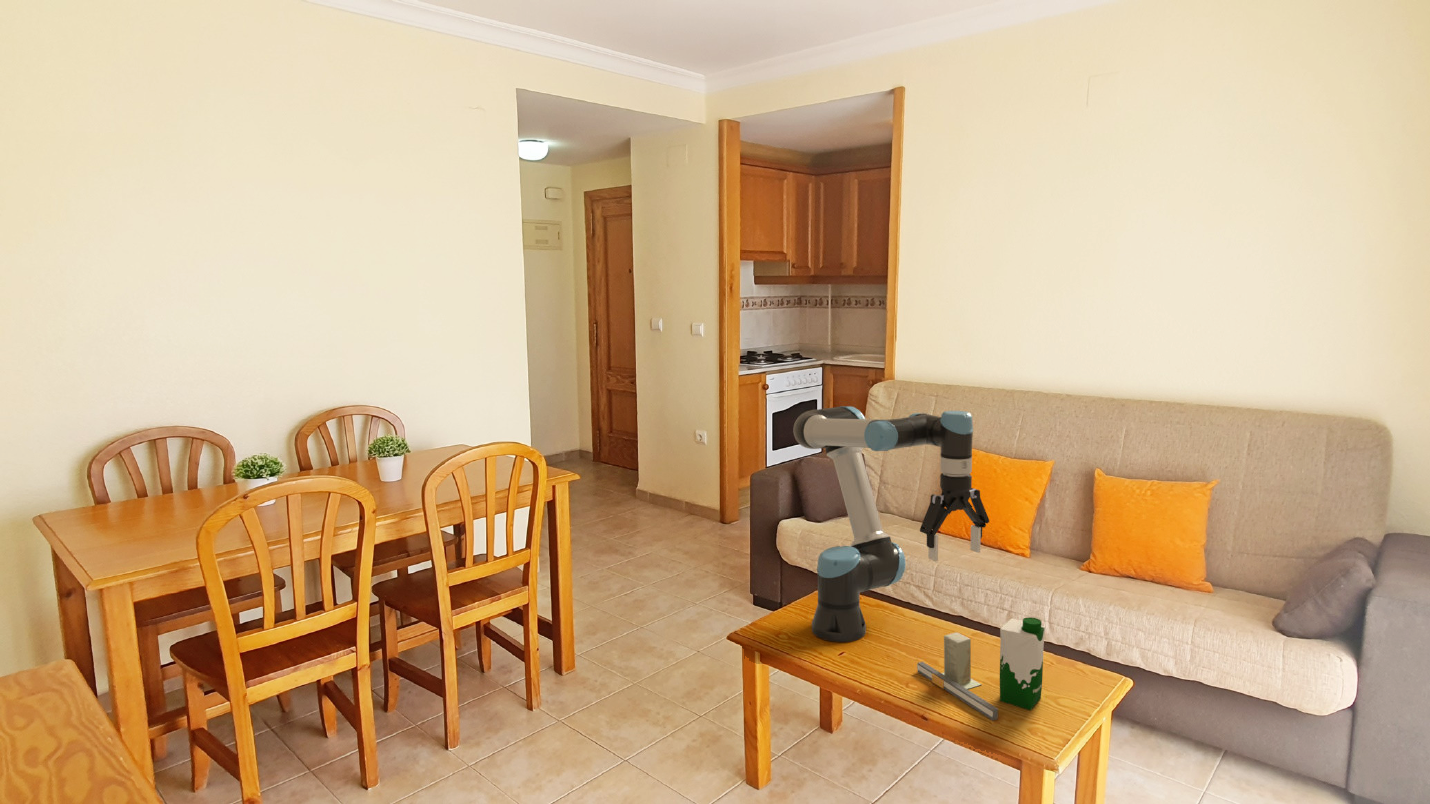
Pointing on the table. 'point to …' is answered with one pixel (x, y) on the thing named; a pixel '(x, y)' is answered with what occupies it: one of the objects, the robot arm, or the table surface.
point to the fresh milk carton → (1021, 662)
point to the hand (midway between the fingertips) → (954, 555)
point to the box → (957, 658)
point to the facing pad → (970, 684)
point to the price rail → (958, 691)
